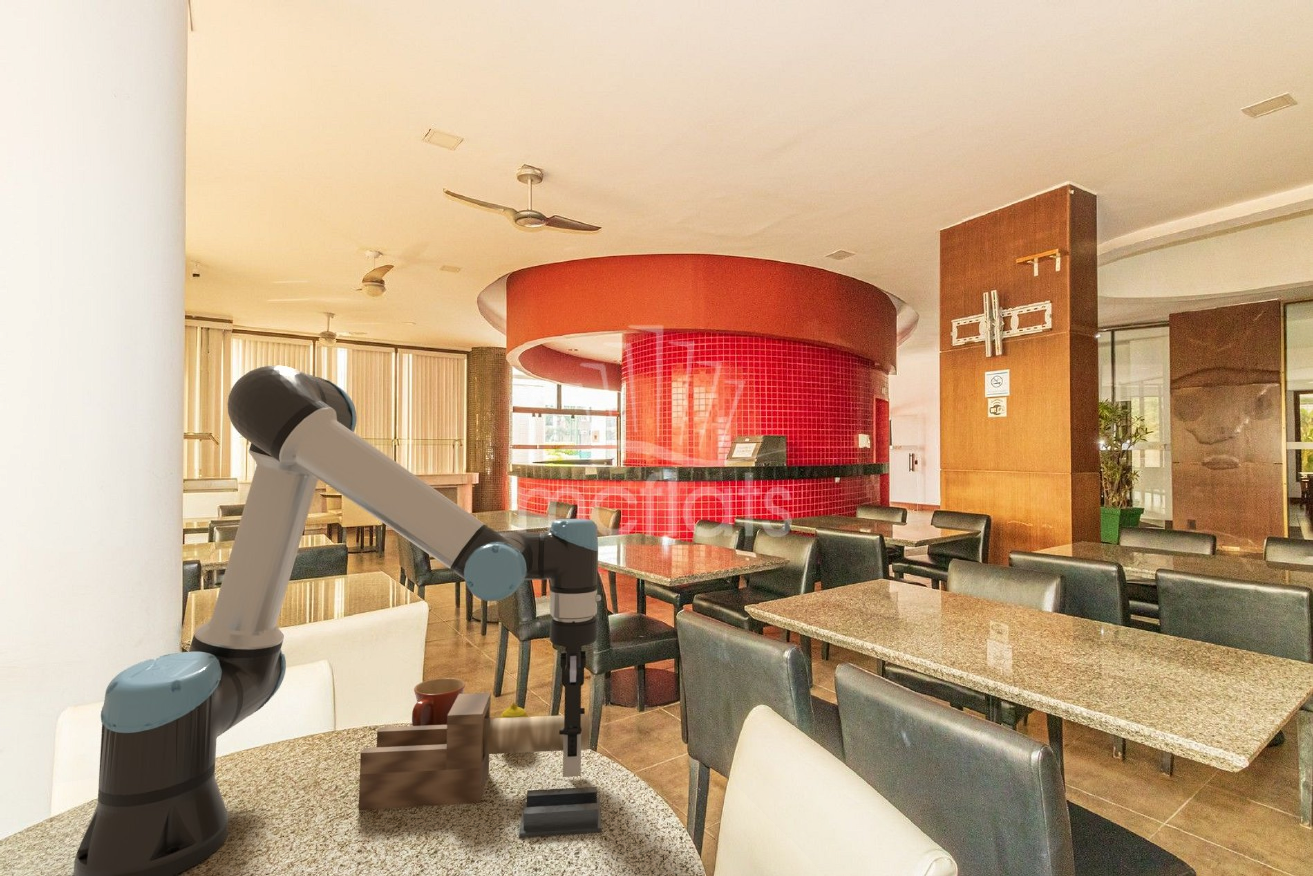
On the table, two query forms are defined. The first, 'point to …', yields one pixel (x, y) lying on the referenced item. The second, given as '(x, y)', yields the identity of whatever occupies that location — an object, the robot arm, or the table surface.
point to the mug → (435, 700)
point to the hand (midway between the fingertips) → (572, 766)
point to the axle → (528, 734)
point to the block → (428, 761)
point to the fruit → (514, 712)
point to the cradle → (561, 812)
